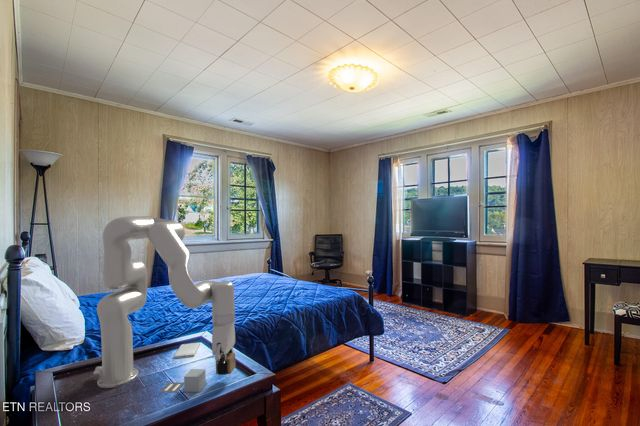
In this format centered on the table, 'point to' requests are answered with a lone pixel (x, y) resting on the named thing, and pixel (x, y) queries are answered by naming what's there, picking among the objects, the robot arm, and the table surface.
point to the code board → (176, 388)
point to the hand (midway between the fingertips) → (225, 369)
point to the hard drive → (187, 350)
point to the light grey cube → (194, 380)
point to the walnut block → (228, 362)
